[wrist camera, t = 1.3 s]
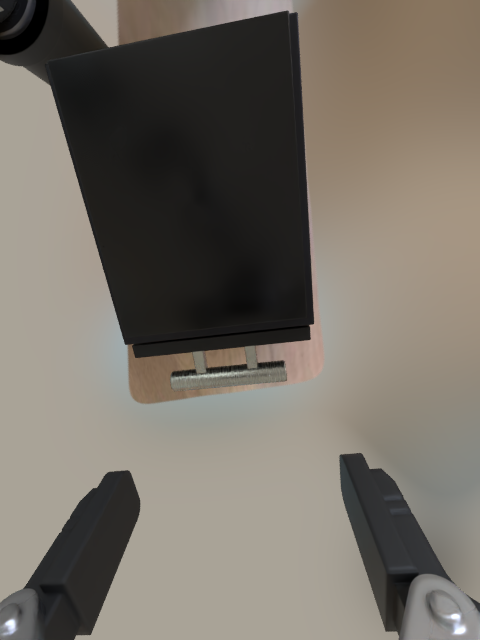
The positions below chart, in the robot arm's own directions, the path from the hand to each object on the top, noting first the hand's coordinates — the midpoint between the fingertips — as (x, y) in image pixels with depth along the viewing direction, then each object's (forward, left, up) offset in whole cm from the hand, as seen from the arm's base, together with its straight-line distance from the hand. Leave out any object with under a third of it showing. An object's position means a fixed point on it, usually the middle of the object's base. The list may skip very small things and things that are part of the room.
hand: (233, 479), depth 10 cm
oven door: (-1, -1, -24) cm, 24 cm away
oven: (-9, +6, -27) cm, 29 cm away
